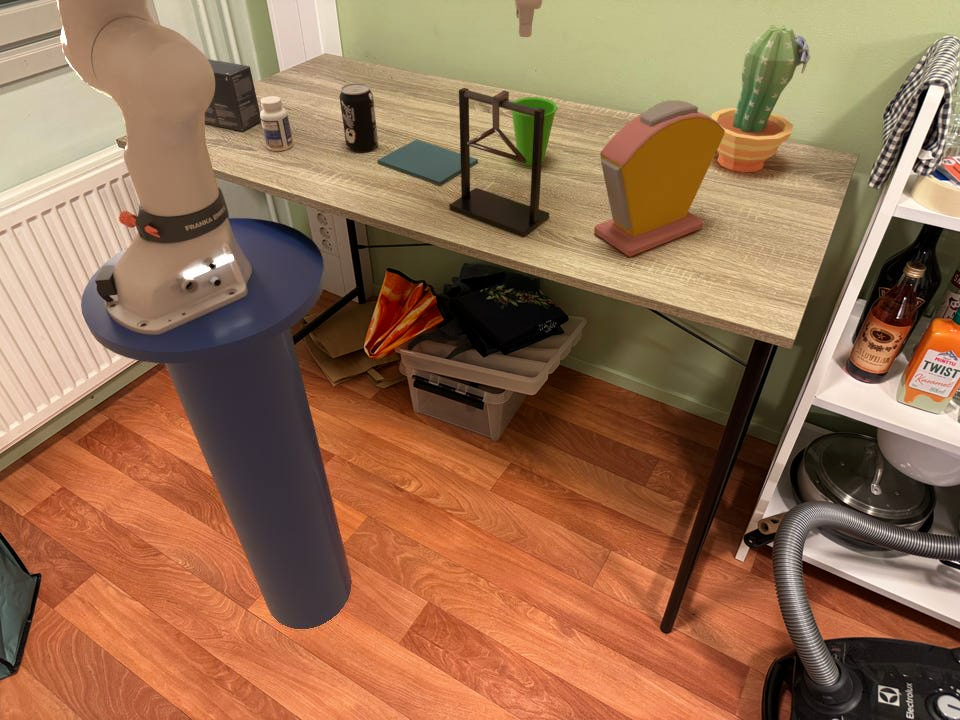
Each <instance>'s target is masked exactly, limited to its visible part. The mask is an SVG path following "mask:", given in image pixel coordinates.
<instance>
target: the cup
mask: <svg viewBox="0 0 960 720" xmlns="http://www.w3.org/2000/svg"><path fill="white" fill-rule="evenodd" d="M512 102H514V103H517V104H521V105H525V106H528V107H532V108H536V109H539V108H541V109H545V113H544V130H543V147H542V164H543V163H544V161H545V158H546V154H547V149H548V145H549V141H550V135H551V131H552V126H553V122H554V119H555V114H556V112H558V111H557V110H558V104H557V103H556V102H554V101H553V100H551V99H548V98H544V97H538V96H537V97H536V96H534V97H533V96H529V97H521V98H518V99H515V100H513V101H512ZM511 114H512V115H511V116H512V123H513V130H514V138H515V147H516V148H517V149H518V150H519V151H520V153H521V154H522V155H523V156H524V157H525V158H526V160H527V162H526V163H521V162H519V164H521V165H523V166H527V167H532V153H533V133H534V117H533V116H530V115H526V114H523V113H519V112H515V111H512V110H511Z"/></svg>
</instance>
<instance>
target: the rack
mask: <svg viewBox="0 0 960 720" xmlns="http://www.w3.org/2000/svg"><path fill="white" fill-rule="evenodd" d="M492 97H493V96H491V95H487V94H483V93H481V92H476V91H472V90H470V89H469V88H466V87H462V88H460V89H458V112H459V113H458V115H459V149H460V150H459V153H460V156H461V173H460V190H461V191H460V192H461V196H460V197H459V198H458V199H456V200H453V202H451V203H449V205H448V207H449V208H448V209H449V210H450V211H452V212H455V213H458V214H460V215H464V216H466V217H468V218H471V219H475V220H477V221H479V222H482V223H485V224H487V225H490V226H493V227H495V228H498V229H500V230H503V231H506V232H507V233H508V232H509V233H510V234H514V235H517V236H519V237H522V238H525V237H526V236H528V235H529V234H530V233H532V232H533V231H534V230H535V229H537V228H538V227H539V226H540V225H542V224H543V223H544V222H546V221H548V219H550V212H548V211H545V210H542V209H540V196H541V195H540V194H541V179H542V165H543V163H542V147H543V130H544V113H545V109H541V108H539V109H536V108H532V107H528V106H525V105H521V104H517V103H514V102H513V101H510V100H509V101H506V100H502V101H500V102H499V108H502V109H505V110H509V111H511V112H512V111H515V112H519V113H523V114H526V115H530V116H533V117H534V133H533V153H532V166H531V175H530V176H531V177H530V180H531V181H530V194H529V195H530V196H529V205H527V204H524V203H522V202H519V201H516V200H513V199H511V198H507V197H505V196H501V195H500V194H496V193H493V192H490V191H487V190H485V189H482V188H478V187H474V188H473V189H471V167H470V157H471V154H470V153H471V152H470V151H471V150H470V149H471V146H468V144H467V143H468V142H469V141H470V100H472V101H475V102H479V103H482V104H483V103H484V104H487V105H491V106H492Z"/></svg>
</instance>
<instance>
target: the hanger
mask: <svg viewBox="0 0 960 720" xmlns="http://www.w3.org/2000/svg"><path fill="white" fill-rule="evenodd" d="M491 97H492V105H491V111H492V113H491V114H492V115H491V117H492V127H491V128H490V129H487V130H486V131H485V132H483V133H481V134H479V135H477V136H476V137H473V138H472V139H469V142H468V143H467V144H468V146H470V148H474V149H477V150H480V151H483V152H487V153H489V154H493V155H496V156H499V157H502V158H506V159H508V160H512V161H515V162H518V163H520V162H521V163H526V162H527V160H526V158H525V157H524V156H523V155H522V154H521V153H520V151H519V150H518V149H517V147H516V145H515V144H514V143H513V142H512V141H511V140H510V139H509V138H508V136H507V135H505V133H504V132H503V131H502V130H501V129H500V107H499V102H500V101H502V100H506V101H510V91H509V90H502V91H500V92H498V93H497V94H495V95H493V96H491ZM495 133H496V134H497V136H498V137H499V138H500V139H501V140H502V141H503V142H504V143H505V145H506V146H507V147H508V148H509V149H510V150H511V152H512V153H509V152H506V151H503V150H499V149H497V148H493V147H490V146H487V145H484V144H481V143H478V142H481V141H482V140H484V139H486V138H487V137H489V136H491V135H493V134H495ZM521 163H520V164H521Z"/></svg>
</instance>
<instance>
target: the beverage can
mask: <svg viewBox="0 0 960 720" xmlns="http://www.w3.org/2000/svg"><path fill="white" fill-rule="evenodd" d="M339 104H340V111H341V118H342V126H343V132H344V137H345V138H344V139H345V145H346V147H347V148H349V149H350V151H353V152H355V153H356V152H357V153H366V152H370V151H372V150H374V149H375V148H376V147H377V145H378V144H379V137H378V129H377V120H376V110H375V101H374V94H373V92H372V91H371V86H370V85H369V84H367V83H363V82H352V83H351V82H350V83H347V84H344V85H342V86H341V87H340V94H339Z"/></svg>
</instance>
